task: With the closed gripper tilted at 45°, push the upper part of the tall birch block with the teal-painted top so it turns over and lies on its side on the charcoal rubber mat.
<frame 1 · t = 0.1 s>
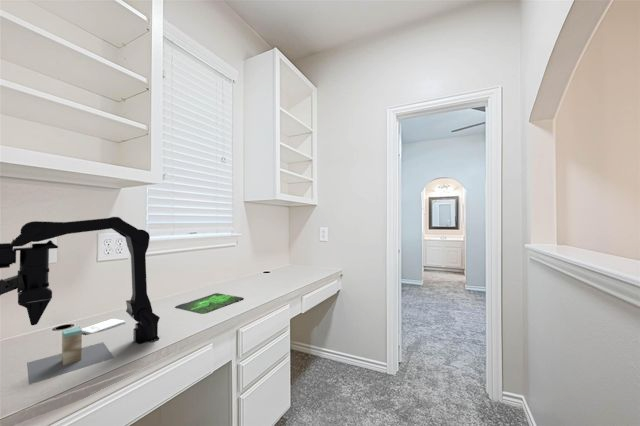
hand: (33, 320, 77), 15 cm above the table, tool pointing down, fingers open, 9 cm apart
external hard drive: (102, 329, 109), on the table
rubber mat: (71, 361, 83), on the table
birch block: (71, 360, 83), resting on rubber mat
mouse mat: (210, 303, 141), on the table
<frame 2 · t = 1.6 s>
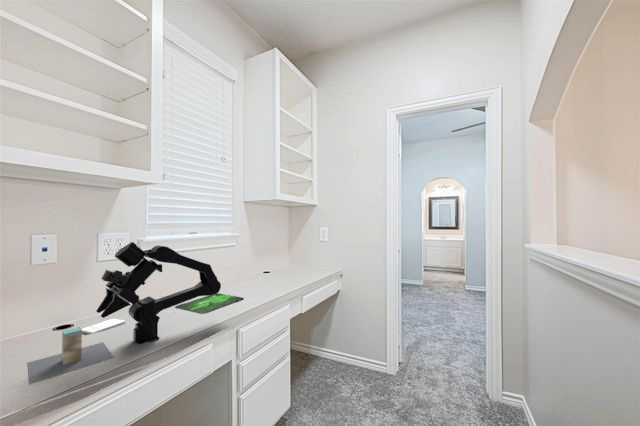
hand: (99, 314, 88), 13 cm above the table, tool tilted 45°, fingers open, 6 cm apart
nothing on the table moved.
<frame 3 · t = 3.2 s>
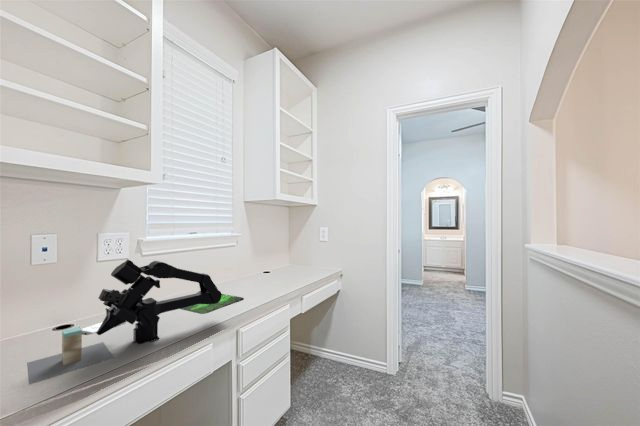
hand: (97, 334, 88), 6 cm above the table, tool tilted 45°, fingers closed
nothing on the table moved.
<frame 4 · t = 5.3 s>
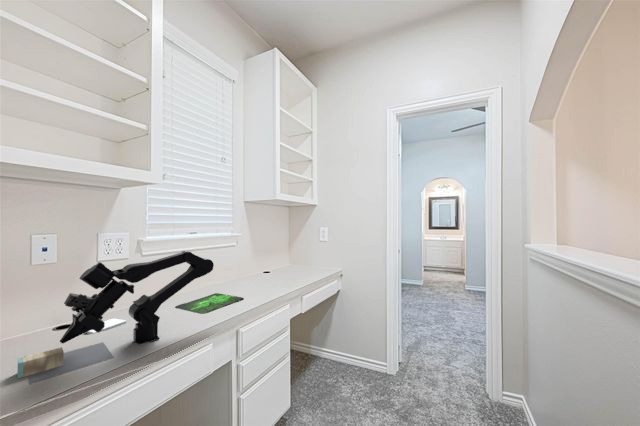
hand: (61, 342, 81), 7 cm above the table, tool tilted 45°, fingers closed
birch block: (62, 356, 81), point 2 cm above the table, tilted 90°, touching rubber mat
everything else where it was.
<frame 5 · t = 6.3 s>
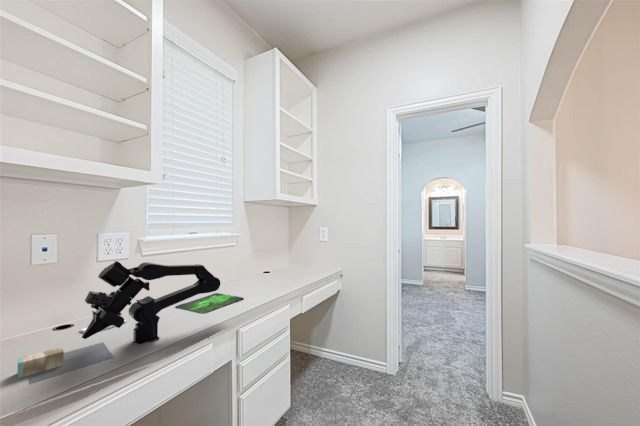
hand: (83, 338, 85), 6 cm above the table, tool tilted 45°, fingers closed
nothing on the table moved.
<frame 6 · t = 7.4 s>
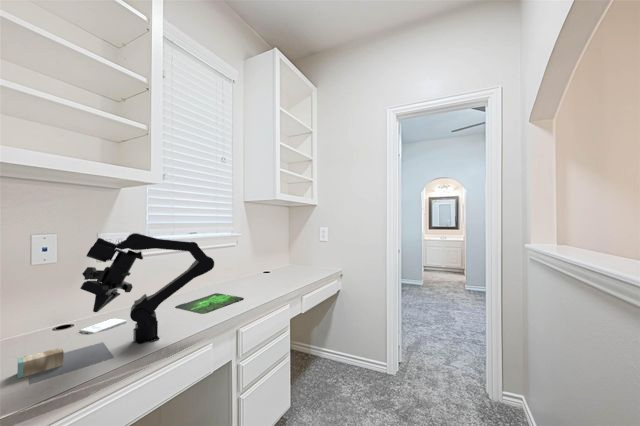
hand: (95, 311, 90), 13 cm above the table, tool tilted 25°, fingers closed
nothing on the table moved.
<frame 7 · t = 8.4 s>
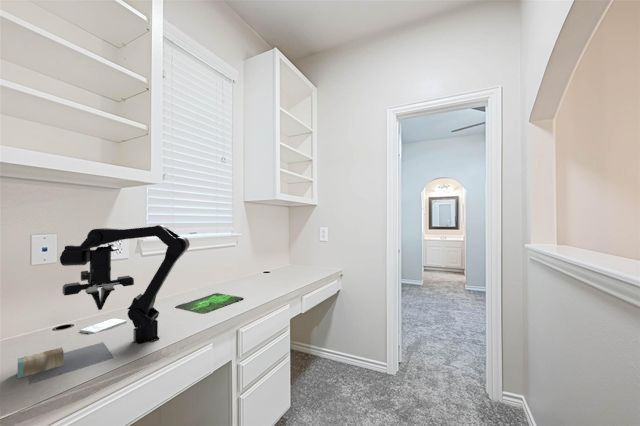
hand: (99, 309, 94), 12 cm above the table, tool pointing down, fingers closed
nothing on the table moved.
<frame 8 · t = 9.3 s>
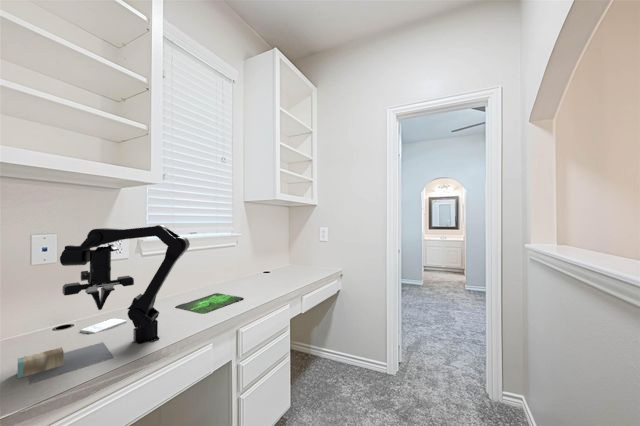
hand: (99, 309, 94), 12 cm above the table, tool pointing down, fingers closed
nothing on the table moved.
at the end: birch block tilted 90°; birch block inside the target area (1.0 cm from its centre), point 2.5 cm above the table; the gripper is holding nothing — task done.
